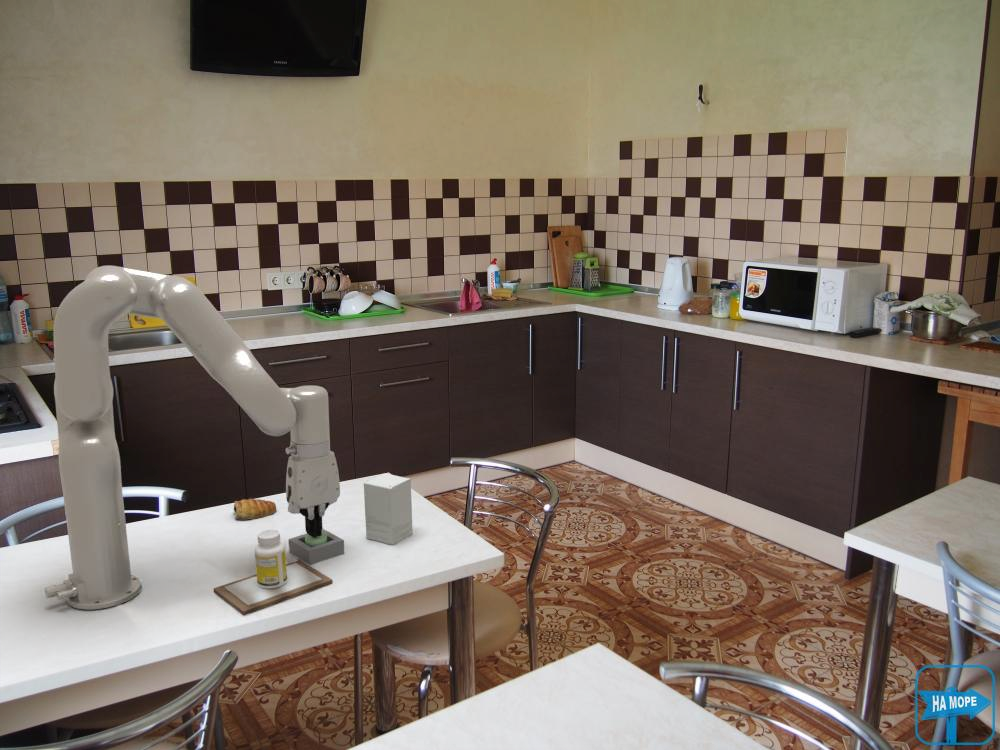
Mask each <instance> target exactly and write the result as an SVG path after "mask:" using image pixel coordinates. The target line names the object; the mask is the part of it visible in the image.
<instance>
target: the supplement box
mask: <svg viewBox="0 0 1000 750" xmlns="http://www.w3.org/2000/svg"><path fill="white" fill-rule="evenodd" d="M363 493H364V494H363V496H364V499H363V500H364V517H365V531H366V532H365V538H366V539H369V540H372V541H376V542H380V543H384V544H387V545H395V544H396V543H399V542H401V541H402V540H404V539H406V538H407V537H409V536H411V535H412V534H413V510H412V509H413V507H412V505H413V504H412V479H411V478H410V477H404V476H399V475H394V474H389V473H382V474H380V475H378V476H375V477H374V478H371V479H369V480H367V481H365V482H363Z"/></svg>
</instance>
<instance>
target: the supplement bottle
mask: <svg viewBox="0 0 1000 750" xmlns="http://www.w3.org/2000/svg"><path fill="white" fill-rule="evenodd" d="M257 543H258V544H257V545H256V546H255V548H254V557H255V569H256V574H257V582H258V585H259V586H260V587H262V588H265V589H273V588H277V587H280V586H282V585H284V584H285V583H286V582H287V569H286V564H287V561H286V560H287V559H286V558H287V557H286V546H285V543H284V542H282V541H281V533H280V531H278V530H277V529H276V530H275V529H268V530H263V531H261V532H259V533H258V534H257Z"/></svg>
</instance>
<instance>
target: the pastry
mask: <svg viewBox="0 0 1000 750" xmlns="http://www.w3.org/2000/svg"><path fill="white" fill-rule="evenodd" d="M233 511H234V518H235V519H237V520H240V521H247V520H248V519H249V520H250V519H251V520H257V519H261V518H265V517H268V516H271V515H273V514H275V513H276V512H277V506H276V503H275V502H274V501H272V500H264V499H259V498H258V499H256V498H255V499H254V498H249V499H241V500H236V501H235V500H234V504H233Z"/></svg>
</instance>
